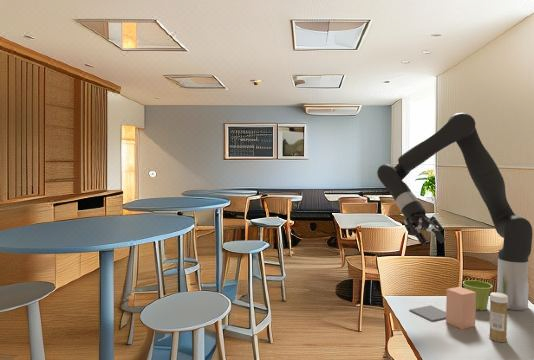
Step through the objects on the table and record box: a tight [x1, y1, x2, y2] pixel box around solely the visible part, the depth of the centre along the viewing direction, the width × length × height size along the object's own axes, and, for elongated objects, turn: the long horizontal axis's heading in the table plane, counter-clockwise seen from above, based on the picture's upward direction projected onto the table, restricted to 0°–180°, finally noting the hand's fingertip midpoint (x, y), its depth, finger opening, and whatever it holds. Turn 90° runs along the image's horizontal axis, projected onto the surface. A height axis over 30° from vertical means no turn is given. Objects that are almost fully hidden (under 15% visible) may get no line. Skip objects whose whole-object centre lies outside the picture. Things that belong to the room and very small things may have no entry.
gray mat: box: [409, 304, 446, 322], centre depth 131 cm, size 10×10×1 cm
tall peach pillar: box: [445, 286, 477, 330], centre depth 123 cm, size 6×6×11 cm
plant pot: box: [462, 279, 493, 311], centre depth 137 cm, size 9×9×9 cm
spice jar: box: [488, 291, 508, 343], centre depth 112 cm, size 5×5×13 cm
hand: (433, 242), depth 132 cm, fingers open, 8 cm apart
